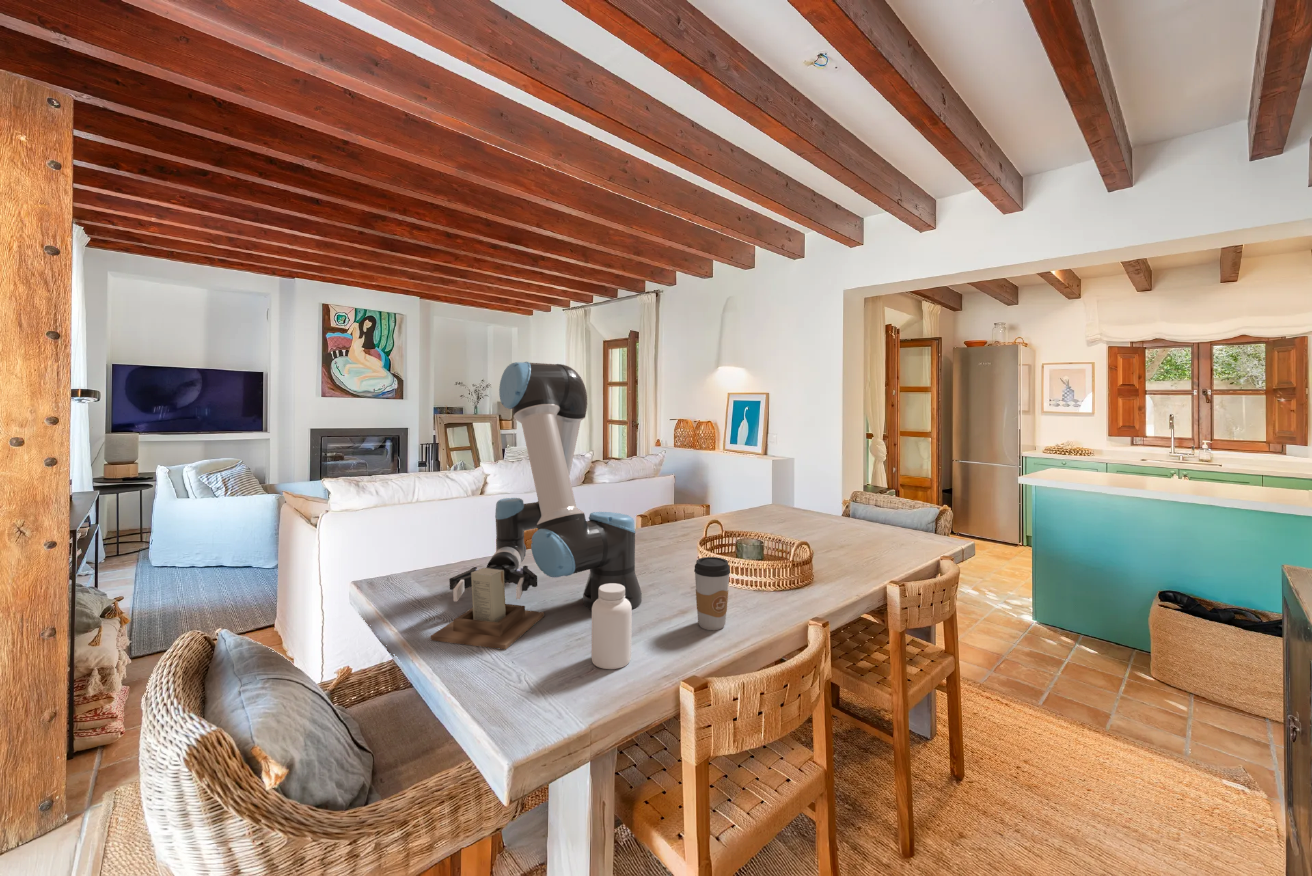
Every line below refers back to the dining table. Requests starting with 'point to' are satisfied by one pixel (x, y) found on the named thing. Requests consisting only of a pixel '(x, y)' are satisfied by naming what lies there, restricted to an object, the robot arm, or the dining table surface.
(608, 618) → the pill bottle
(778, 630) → the dining table surface
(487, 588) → the skincare box
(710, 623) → the coffee cup
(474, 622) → the socket holder
